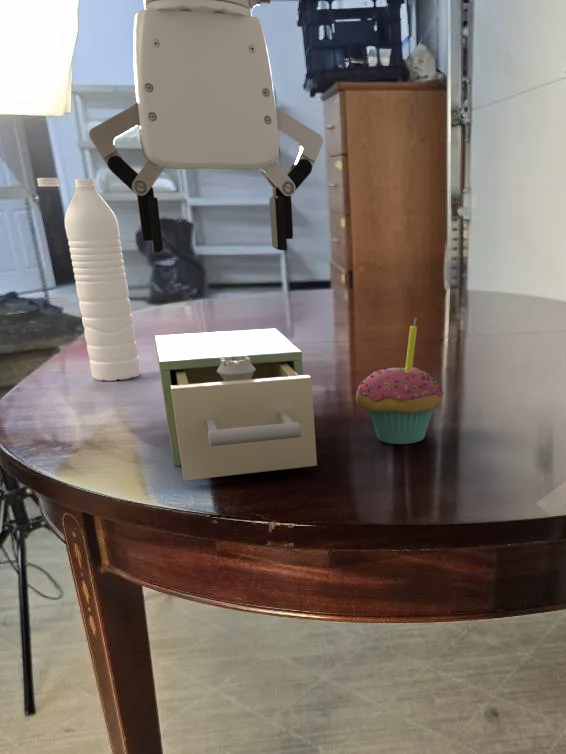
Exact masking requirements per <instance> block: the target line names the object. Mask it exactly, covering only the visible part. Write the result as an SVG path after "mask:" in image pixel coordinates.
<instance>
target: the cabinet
mask: <svg viewBox="0 0 566 754" xmlns="http://www.w3.org/2000/svg"><path fill="white" fill-rule="evenodd" d="M154 342H155V349H156V356H157V362H158V370H159V376H160V377H159V378H160V384H161V390H162V391H161V392H162V397H163V398H162V399H163V406H164V412H165V419H166V426H167V433H168V438H169V444H170V445H169V446H170V449H171V457H172V464H173V467H180V466H181V467H182V465H181V458H180V451H179V444H178V436H177V429H176V422H175V415H174V407H173V400H172V393H171V386H173V385H176V381H175V374H174V370H177V369H190V368H204V367H217V366H220V365H221V363H220V359H221V358H225V357H229V356H231V357H232V361H236V356H242V360H244V357H245V356H247V357H249V358H250V362H251V364H258V363H271V362H286V363H287V364H288V365H289V366H290V367H291V368H292V369H293V370H294V371H295V372H296V374H297V375H298V376H299V375H304V367H303V366H304V365H303V352H302V351H301V350H300V349H299V348H298V347H297V346H295V344H293V342H291V341H290V340H289V339H288V338H287V337H286V336H285V335H284V334H282V333H281V332H280V331H279V330H278V329H277V328H276V327H275V328H273V327H272V328H257V329H244V330H243V329H241V330H227V331H226V330H225V331H211V332H210V331H209V332H195V333H194V332H193V333H177V334H161V335H154ZM225 360H226V358H225Z"/></svg>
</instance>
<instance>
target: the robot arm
mask: <svg viewBox="0 0 566 754" xmlns="http://www.w3.org/2000/svg"><path fill="white" fill-rule="evenodd" d="M271 1H272V0H143V8H144V9H142V10H139V11H137V12H136V14H135V15H134V23H133V73H134V74H133V75H134V86H135V98H136V100H135V101H136V103H134V104H133V105H130V106H129V107H128V108H125V109H124V110H122V111H120V112H119V113H117V114H115V115H113V116H112V117H110V118H108V119H106V120H105V121H103V122H101V123H99V124H97V125H95V126H93V127H91V129H90V130H89V132H88V135H89V136H88V137H89V139H90V140H91V142H92V144H93V145H94V147H95V148H96V150H97V152H98V154H99V155H100V157H101V158H102V160H103V161H104V163H105V164H106V166H107V168H108V169H109V170H110V171H111V173H113V175H114V176H116V177H117V178H118V179H119V180H120V181H121V182H122V183H123V184H124V185H125V186H127V187H128V189H130V190H131V191H132V192H133V193H134V194H135V195H136V197H137V205H138V212H139V220H140V221H139V222H140V229H141V235H142V236H141V237H142V241H143V242H151V245H152V252H153V253H161V252H162V251H164V246H163V236H162V227H161V220H160V211H159V202H158V197H155V193H154V187H153V186H154V184H155V183H156V181H157V180H158V178H159V177H160V176H161V174H162V173H163V171H164V170H178V171H179V170H180V171H181V170H184V171H188V170H189V171H254V170H255V171H256V170H257V171H258V172H259V174H260V175H261V176H262V177H263V178H264V179H265V181H266V182H267V183H268V184H269V186H270V187H271V188H272V190H271V191H272V195H271V196H270V197H269V199H268V200H269V215H270V216H269V218H270V231H271V232H270V233H271V246H272V248H274V249H276V250H278V251H287V249H288V244H287V243H288V242H287V241H288V240H293V238H294V227H293V226H294V225H293V207H292V196H293V195H294V194H295V193H296V191H297V189H298V188H299V187H300V186H301V185H302V184H303V183H304V181H305V180H306V179H307V178H308V176H309V175H311V173H312V171H313V167H314V164H315V162H316V160H317V158H318V156H319V153H320V151H321V148H322V147H323V143H324V138H323V136H322V135H321V134H320V133H318V132H317V131H315V130H313V129H312V128H311V127H308V126H307V125H305V124H303V123H302V122H300V121H298V120H297V119H295V118H293V117H291V116H290V115H288V114H287V113H285V112H284V111H282V110H280V109H279V108H277V105H276V98H275V91H274V83H273V75H272V69H271V62H270V57H269V51H268V46H267V42H266V36H265V33H264V28H263V24H262V20H261V19H260V18H258V16H257V17H256V16H253V12H252V11H253V10H254V9H255V7H256V6H260V5H261V4H269V5H270V4H271ZM136 128H138V132H139V133H138V134H139V141H140V145H141V151H142V155H143V157H144V159H145V160H146V161H145V163H144V164H143V166H142V168H141V169H140V171H139V172H137V171H136V170H135V169H133V167H131V166H130V164H128V163H127V162H126V161H125V160H124V158H122V156H121V154H120V153H119V151H118V149H117V148H116V146H115V142H116V140H117V139H118V138H119V137H121V136H123V135H125V134H126V133H128V132H130V131H132V130H134V129H136ZM279 133H280V134H282V135H284V136H286V137H287V138H289V139H291V140H292V141H293V142H295V143H296V144H298V146H299V152H298V155H297V157H296V160H295V162H294V163H293V164H292V165H291V166H290V167H289V169H288V170H287V171H286V172H285V170H284V169H283V167H282V166H281V165H280V163H278V159H279V154H280V138H279V137H280V136H279Z"/></svg>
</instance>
